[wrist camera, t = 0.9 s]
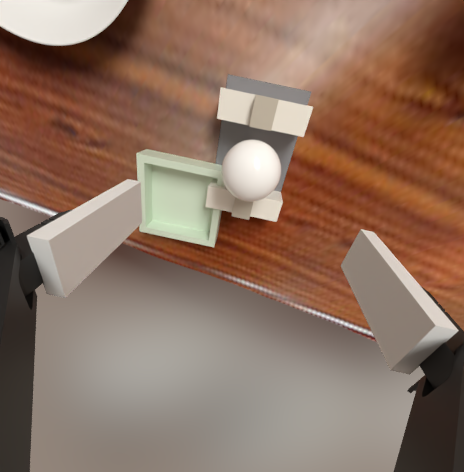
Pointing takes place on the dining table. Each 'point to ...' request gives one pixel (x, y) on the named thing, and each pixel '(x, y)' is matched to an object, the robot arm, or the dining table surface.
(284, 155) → the holder
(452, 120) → the dining table surface
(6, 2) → the bowl
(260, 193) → the lightbulb
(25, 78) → the dining table surface
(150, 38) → the dining table surface
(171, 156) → the tray
